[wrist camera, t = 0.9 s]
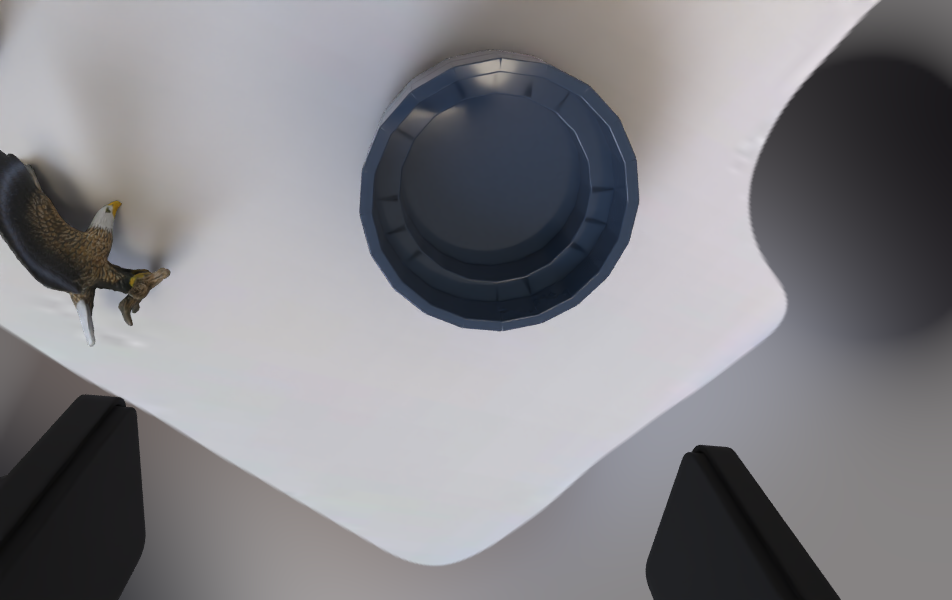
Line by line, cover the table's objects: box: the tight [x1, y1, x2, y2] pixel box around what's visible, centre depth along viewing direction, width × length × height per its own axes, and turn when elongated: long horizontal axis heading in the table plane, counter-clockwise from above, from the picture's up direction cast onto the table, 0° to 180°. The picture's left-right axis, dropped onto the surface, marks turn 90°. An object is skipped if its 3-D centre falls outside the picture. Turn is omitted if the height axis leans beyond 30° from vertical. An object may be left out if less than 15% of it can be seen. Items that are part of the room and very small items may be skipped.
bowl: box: [359, 49, 639, 331], centre depth 32 cm, size 13×13×5 cm
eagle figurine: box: [0, 150, 170, 347], centre depth 31 cm, size 8×7×9 cm
